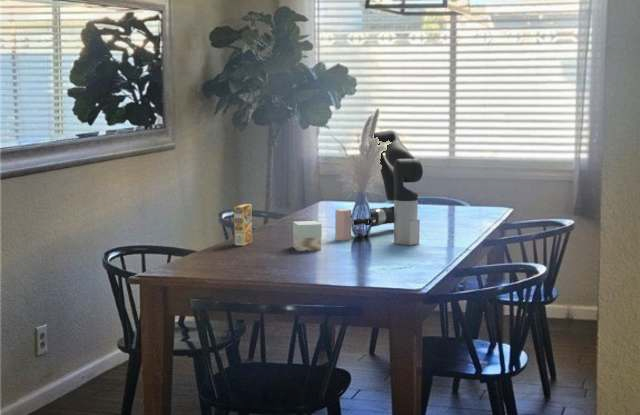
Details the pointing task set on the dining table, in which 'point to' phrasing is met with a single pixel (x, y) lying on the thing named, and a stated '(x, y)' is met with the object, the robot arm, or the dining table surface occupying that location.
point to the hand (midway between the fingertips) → (346, 221)
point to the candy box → (243, 224)
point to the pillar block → (343, 224)
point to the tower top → (307, 229)
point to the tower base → (306, 243)
